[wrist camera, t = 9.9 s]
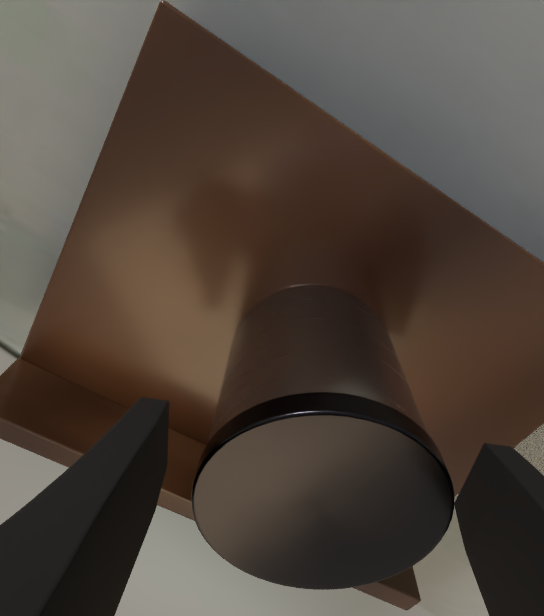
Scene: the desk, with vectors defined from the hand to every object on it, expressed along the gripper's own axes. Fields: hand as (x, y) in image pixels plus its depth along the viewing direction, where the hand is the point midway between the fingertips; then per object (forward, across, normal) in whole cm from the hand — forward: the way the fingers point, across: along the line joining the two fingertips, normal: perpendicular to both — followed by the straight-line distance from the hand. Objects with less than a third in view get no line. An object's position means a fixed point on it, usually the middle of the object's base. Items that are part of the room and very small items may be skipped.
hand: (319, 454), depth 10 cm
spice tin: (+4, 0, 0) cm, 4 cm away
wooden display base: (+7, 0, 0) cm, 7 cm away
